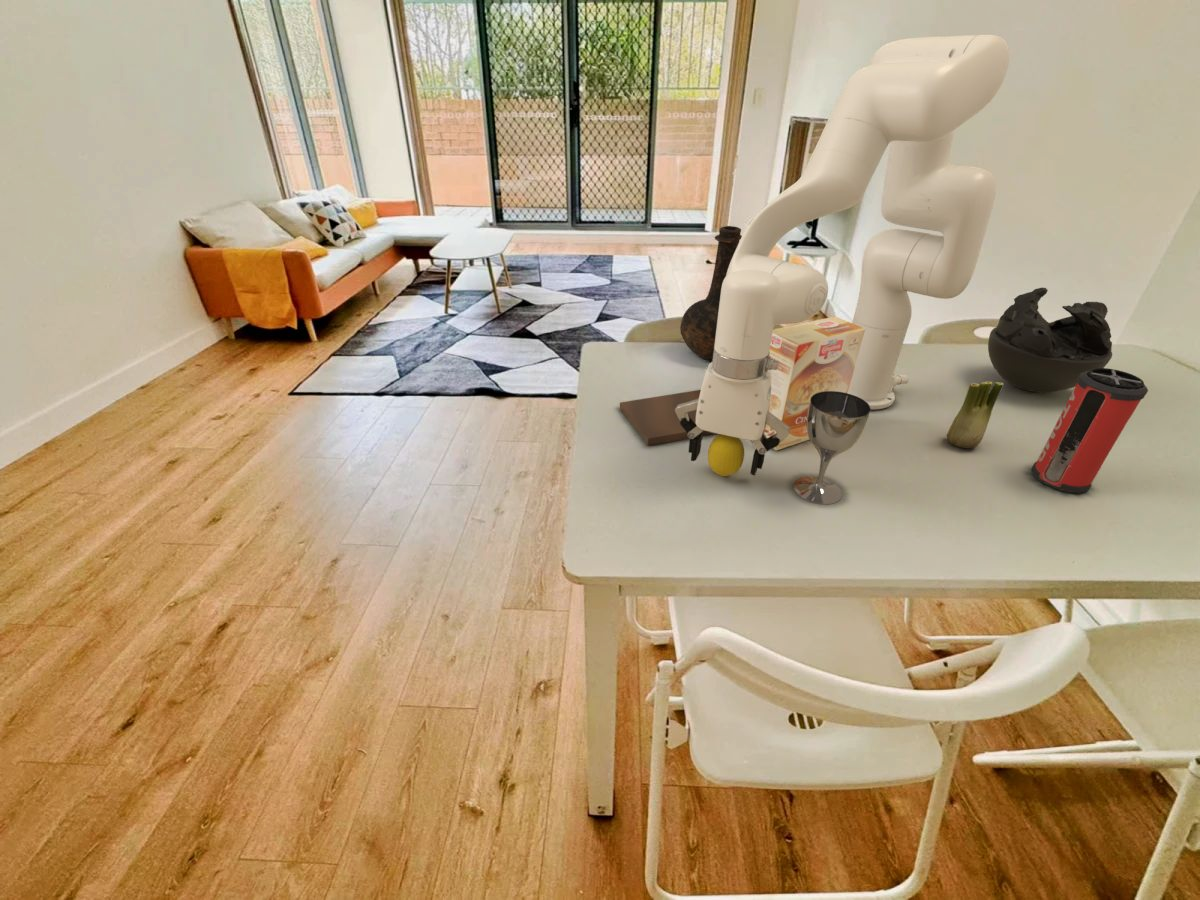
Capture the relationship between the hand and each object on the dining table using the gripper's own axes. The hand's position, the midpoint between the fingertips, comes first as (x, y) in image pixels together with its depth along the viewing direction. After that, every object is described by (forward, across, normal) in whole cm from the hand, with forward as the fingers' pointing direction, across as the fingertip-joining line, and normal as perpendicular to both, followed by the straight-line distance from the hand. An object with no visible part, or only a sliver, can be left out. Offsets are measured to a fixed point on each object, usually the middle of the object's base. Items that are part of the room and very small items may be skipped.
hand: (724, 463), depth 88 cm
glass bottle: (+2, +13, -48) cm, 50 cm away
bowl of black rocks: (+2, -51, -57) cm, 77 cm away
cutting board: (+2, +11, -16) cm, 19 cm away
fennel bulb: (+2, -36, -26) cm, 44 cm away
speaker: (+2, -49, -21) cm, 53 cm away
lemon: (+3, 0, 0) cm, 3 cm away
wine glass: (+3, -14, -2) cm, 15 cm away
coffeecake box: (+3, -9, -19) cm, 21 cm away
